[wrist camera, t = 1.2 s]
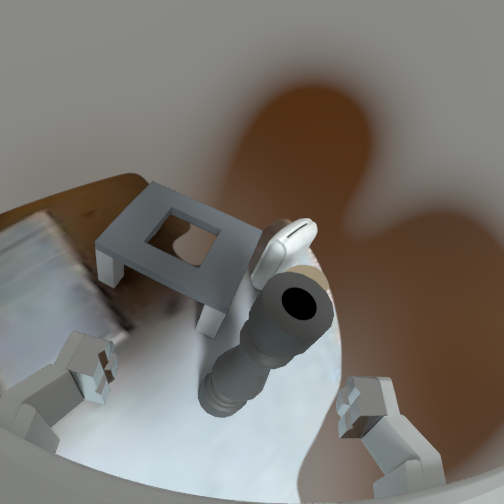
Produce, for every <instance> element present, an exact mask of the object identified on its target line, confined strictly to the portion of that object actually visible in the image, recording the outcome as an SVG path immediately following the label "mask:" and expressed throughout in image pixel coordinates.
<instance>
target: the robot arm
mask: <svg viewBox="0 0 504 504" xmlns="http://www.w3.org/2000/svg"><path fill="white" fill-rule="evenodd" d="M114 348H115V347H114V344H113V342H112V341H108V340H105V339H101V338H97V337H94V336H90V335H87V334H84V333H80V332H77V331H74V332H72V333H71V334H70V336H69V338H68V339H67V341H66V343H65V345H64V346H63V348H62V350H61V352H60V354H59V355H58V357H57V359H56V361H55V363H54V365H52V364H49V365H47V366H46V367H44V368H42V369H41V370H39V371H38V372H36V373H34V374H33V375H31V376H29V377H28V378H26V379H24V380H23V381H21V382H19V383H18V384H16V385H14V386H13V387H11V388H9V389H8V390H6V391H5V392H4V393H3V395H2V397H1V399H0V504H286V503H260V502H246V501H236V500H226V499H218V498H211V497H204V496H198V495H192V494H186V493H181V492H176V491H171V490H166V489H162V488H158V487H153V486H149V485H145V484H141V483H138V482H134V481H130V480H127V479H123V478H120V477H117V476H114V475H111V474H107V473H104V472H101V471H98V470H96V469H93V468H90V467H87V466H85V465H82V464H79V463H77V462H74V461H72V460H69V459H67V458H64V457H62V456H59V455H57V454H55V453H56V450H57V447H58V444H59V441H60V439H59V437H58V436H57V435H56V433H55V432H54V431H53V430H52V429H51V427H52V426H53V425H54V424H56V423H57V422H58V421H59V420H61V419H62V418H63V417H64V416H65V415H67V414H68V413H69V412H70V411H71V410H73V409H74V408H75V407H76V406H77V405H79V404H80V403H81V402H82V401H84V399H87V400H90V401H94V402H97V403H101V404H104V405H105V403H106V400H107V398H108V395H109V393H110V387H109V383H110V382H112V381H113V380H115V377H116V374H117V370H118V358H117V355H116V354H115V353H114V352H113V351H114ZM336 407H337V413H338V414H339V415H340V416H341V419H340V421H339V422H338V427H339V437H340V438H341V439H350V438H351V439H361V441H362V442H363V444H364V445H365V447H366V448H367V450H368V451H369V452H370V454H371V455H372V457H373V458H374V460H375V461H376V463H377V464H378V466H379V467H380V468H381V470H382V471H383V473H384V474H385V476H384V477H382V478H381V479H379V480H378V481H376V482H375V483H374V484H373V489H374V499H368V500H360V501H359V500H358V501H348V502H334V503H312V504H504V466H502V467H499V468H496V469H494V470H491V471H488V472H485V473H482V474H479V475H476V476H473V477H470V478H467V479H464V480H460V481H457V482H454V483H450V484H446V481H445V476H444V471H443V466H442V462H441V457H440V454H439V453H438V452H437V451H436V450H435V449H434V448H433V446H431V444H430V443H429V442H428V441H427V440H426V439H425V438H424V437H423V436H422V435H421V434H420V433H419V432H418V430H416V428H415V427H414V426H413V425H412V424H411V423H410V422H409V421H408V420H407V418H406V417H405V416H404V415H400V413H399V409H398V405H397V400H396V396H395V392H394V389H393V384H392V381H391V379H390V378H389V377H364V376H363V377H362V376H351V377H349V378H348V379H347V381H346V387H343V388H342V389H341V390H340V392H339V393H338V397H337V404H336ZM309 504H311V503H309Z"/></svg>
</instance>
